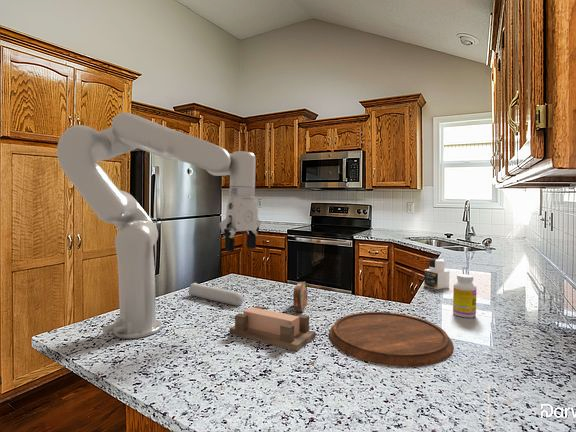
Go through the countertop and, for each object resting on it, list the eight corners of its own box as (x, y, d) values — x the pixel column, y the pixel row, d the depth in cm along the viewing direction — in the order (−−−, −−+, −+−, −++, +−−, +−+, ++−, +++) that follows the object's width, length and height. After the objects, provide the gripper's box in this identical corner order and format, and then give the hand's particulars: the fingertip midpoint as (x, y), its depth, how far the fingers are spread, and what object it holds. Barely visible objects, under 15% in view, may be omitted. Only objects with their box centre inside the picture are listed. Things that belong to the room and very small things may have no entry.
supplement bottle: (475, 319, 106) (475, 278, 106) (451, 316, 110) (452, 276, 109) (476, 313, 112) (477, 274, 111) (454, 310, 116) (455, 272, 115)
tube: (247, 293, 124) (200, 283, 138) (238, 291, 120) (190, 281, 134) (244, 308, 123) (197, 296, 137) (235, 307, 119) (186, 295, 132)
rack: (297, 351, 85) (297, 329, 85) (229, 333, 97) (229, 314, 96) (315, 337, 94) (315, 317, 93) (251, 322, 105) (251, 304, 105)
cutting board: (310, 326, 102) (310, 318, 102) (398, 313, 114) (398, 306, 114) (372, 379, 73) (372, 367, 72) (483, 354, 84) (483, 344, 84)
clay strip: (291, 338, 89) (291, 321, 89) (243, 326, 98) (243, 310, 97) (299, 333, 93) (299, 316, 92) (252, 322, 101) (252, 307, 101)
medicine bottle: (423, 285, 148) (424, 258, 148) (435, 283, 151) (436, 257, 151) (437, 289, 142) (437, 260, 141) (449, 287, 145) (450, 259, 144)
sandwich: (301, 315, 111) (301, 289, 111) (292, 314, 112) (292, 289, 111) (308, 301, 126) (308, 279, 126) (299, 301, 127) (299, 278, 126)
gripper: (231, 192, 94) (229, 254, 95) (269, 194, 109) (267, 248, 109) (212, 192, 98) (210, 251, 99) (251, 194, 113) (249, 245, 113)
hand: (240, 249), depth 104 cm, fingers open, 9 cm apart
